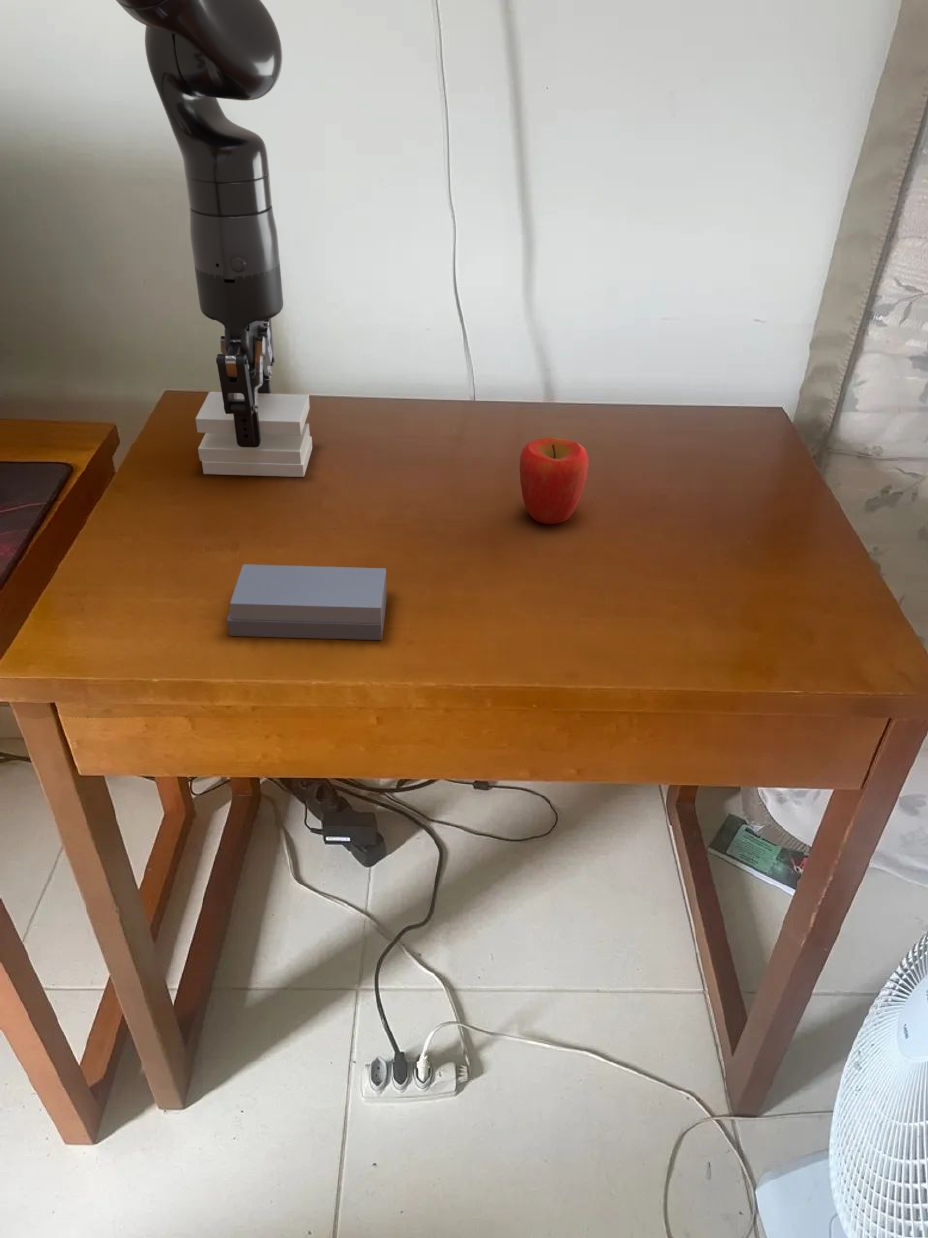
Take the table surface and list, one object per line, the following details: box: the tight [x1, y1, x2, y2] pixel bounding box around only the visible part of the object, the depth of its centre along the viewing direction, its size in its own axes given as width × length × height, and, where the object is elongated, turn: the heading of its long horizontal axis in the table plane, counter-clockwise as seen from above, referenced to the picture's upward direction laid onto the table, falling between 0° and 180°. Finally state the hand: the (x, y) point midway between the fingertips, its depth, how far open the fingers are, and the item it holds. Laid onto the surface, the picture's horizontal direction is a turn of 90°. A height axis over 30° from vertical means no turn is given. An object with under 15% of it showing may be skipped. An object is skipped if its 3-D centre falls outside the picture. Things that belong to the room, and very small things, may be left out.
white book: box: [195, 391, 311, 436], centre depth 97 cm, size 10×6×2 cm, turn 89°
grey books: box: [226, 563, 388, 641], centre depth 78 cm, size 12×6×3 cm, turn 89°
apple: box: [519, 437, 590, 525], centre depth 91 cm, size 6×6×8 cm
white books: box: [197, 422, 313, 478], centre depth 99 cm, size 10×6×3 cm, turn 89°
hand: (255, 429), depth 98 cm, fingers closed on white book, 6 cm apart
